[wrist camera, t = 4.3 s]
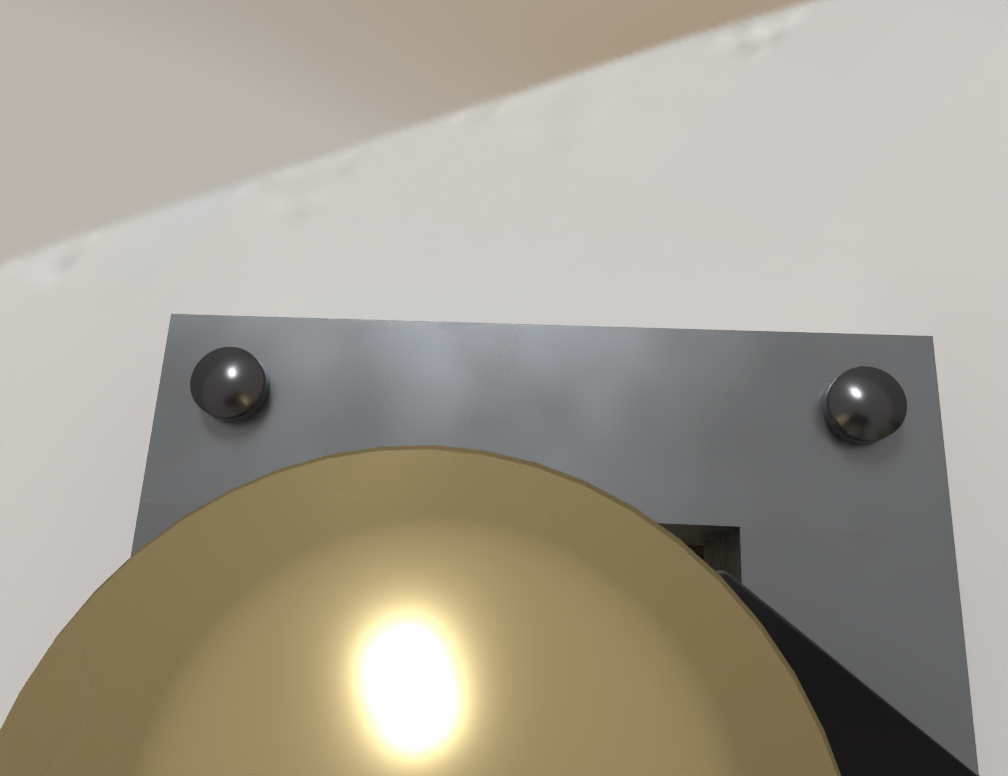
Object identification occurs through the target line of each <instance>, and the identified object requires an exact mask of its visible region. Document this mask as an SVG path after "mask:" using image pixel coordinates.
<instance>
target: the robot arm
mask: <svg viewBox="0 0 1008 776" xmlns="http://www.w3.org/2000/svg"><path fill="white" fill-rule="evenodd" d="M716 572H717V573H718V574H719V575H720V576H721V577H722V578H723V579H724V580H725V581H726V583H727V584H728V585H729V586H730V587H731V588H732V590H733V591H734V592H735V593H736V594H737V595H738V596H739V598H740V599H741V600H742V601H743V602H744V603H745V605H746V606H747V607H748V608H749V609H750V610H751V612H752V613H753V614H754V615H755V616H756V617H757V619H758V620H759V621H760V622H761V623H762V625H763V626H764V628H765V629H766V631H767V632H768V634H769V635H770V637H771V638H772V640H773V641H774V643H775V644H776V646H777V647H778V649H779V650H780V652H781V653H782V655H783V656H784V658H785V659H786V661H787V662H788V664H789V665H790V667H791V668H792V670H793V671H794V673H795V674H796V676H797V678H798V680H799V682H800V684H801V686H802V688H803V690H804V692H805V694H806V696H807V698H808V700H809V701H810V703H811V705H812V707H813V709H814V711H815V713H816V715H817V717H818V719H819V721H820V723H821V725H822V727H823V729H824V731H825V734H826V736H827V739H828V742H829V744H830V747H831V750H832V752H833V755H834V758H835V760H836V763H837V766H838V769H839V771H840V774H841V776H980V775H978V774H977V773H976V772H975V771H973V770H972V769H971V768H970V767H968V766H967V765H966V764H965V763H963V762H962V761H961V760H960V759H959V758H957V757H956V756H955V755H954V754H952V753H951V752H950V751H949V750H947V749H946V748H945V747H944V746H942V745H941V744H940V743H939V742H937V741H936V740H935V739H934V738H933V737H931V736H930V735H929V734H928V733H926V732H925V731H924V730H923V729H921V728H920V727H919V726H918V725H916V724H915V723H914V722H913V721H911V720H910V719H909V718H908V717H907V716H905V715H904V714H903V713H902V712H900V711H899V710H898V709H897V708H895V707H894V706H893V705H892V704H890V703H889V702H888V701H887V700H885V699H884V698H883V697H882V696H881V695H879V694H878V693H877V692H876V691H874V690H873V689H872V688H871V687H869V686H868V685H867V684H866V683H864V682H863V681H862V680H861V679H859V678H858V677H857V676H856V675H855V674H853V673H852V672H851V671H850V670H848V669H847V668H846V667H845V666H843V665H842V664H841V663H840V662H838V661H837V660H836V659H835V658H833V657H832V656H831V655H830V654H829V653H827V652H826V651H825V650H824V649H822V648H821V647H820V646H819V645H817V644H816V643H815V642H814V641H812V640H811V639H810V638H809V637H807V636H806V635H805V634H804V633H803V632H801V631H800V630H799V629H798V628H796V627H795V626H794V625H793V624H791V623H790V622H789V621H788V620H786V619H785V618H784V617H783V616H781V615H780V614H779V613H778V612H777V611H775V610H774V609H773V608H772V607H770V606H769V605H768V604H767V603H765V602H764V601H763V600H762V599H760V598H759V597H758V596H757V595H755V594H754V593H753V592H752V591H751V590H749V589H748V588H747V587H746V586H744V585H743V584H742V583H741V582H739V581H738V580H737V579H736V578H734V577H733V576H732V575H731V574H729V573H728V572H725V571H721V570H718V571H716Z"/></svg>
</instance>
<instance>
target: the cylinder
mask: <svg viewBox="0 0 1008 776" xmlns="http://www.w3.org/2000/svg"><path fill="white" fill-rule="evenodd" d="M0 776H841V774H840V771H839V769H838V766H837V763H836V760H835V758H834V755H833V752H832V750H831V747H830V744H829V742H828V739H827V736H826V734H825V731H824V729H823V727H822V725H821V723H820V721H819V719H818V717H817V715H816V713H815V711H814V709H813V707H812V705H811V703H810V701H809V700H808V698H807V696H806V694H805V692H804V690H803V688H802V686H801V684H800V682H799V680H798V678H797V676H796V674H795V673H794V671H793V670H792V668H791V667H790V665H789V664H788V662H787V661H786V659H785V658H784V656H783V655H782V653H781V652H780V650H779V649H778V647H777V646H776V644H775V643H774V641H773V640H772V638H771V637H770V635H769V634H768V632H767V631H766V629H765V628H764V626H763V625H762V623H761V622H760V621H759V620H758V619H757V617H756V616H755V615H754V614H753V613H752V612H751V610H750V609H749V608H748V607H747V606H746V605H745V603H744V602H743V601H742V600H741V599H740V598H739V596H738V595H737V594H736V593H735V592H734V591H733V590H732V588H731V587H730V586H729V585H728V584H727V583H726V581H725V580H724V579H723V578H722V577H721V576H720V575H719V574H718V573H717V572H716V571H714V570H713V569H712V568H711V567H710V566H709V565H708V564H707V563H706V562H705V561H703V560H702V559H701V558H700V557H699V556H698V555H697V554H696V553H695V552H694V551H692V550H691V549H690V548H689V547H688V546H687V545H686V544H685V543H684V542H683V541H681V540H680V539H679V538H678V537H676V536H675V535H673V534H672V533H671V532H669V531H668V530H666V529H665V528H663V527H662V526H661V525H659V524H658V523H656V522H655V521H654V520H652V519H651V518H649V517H648V516H646V515H645V514H644V513H642V512H641V511H639V510H638V509H637V508H635V507H634V506H632V505H630V504H628V503H626V502H624V501H622V500H620V499H618V498H617V497H615V496H613V495H611V494H609V493H607V492H605V491H603V490H602V489H600V488H598V487H596V486H594V485H592V484H590V483H588V482H586V481H584V480H581V479H579V478H576V477H573V476H571V475H568V474H565V473H563V472H560V471H557V470H555V469H552V468H549V467H547V466H544V465H541V464H539V463H536V462H532V461H528V460H523V459H519V458H515V457H511V456H506V455H502V454H498V453H494V452H489V451H485V450H475V449H466V448H456V447H446V446H437V445H420V446H382V447H375V448H369V449H362V450H356V451H349V452H343V453H336V454H330V455H326V456H323V457H319V458H316V459H312V460H309V461H305V462H302V463H298V464H295V465H291V466H288V467H285V468H281V469H278V470H276V471H273V472H271V473H269V474H266V475H264V476H262V477H259V478H257V479H255V480H252V481H250V482H248V483H245V484H243V485H241V486H238V487H236V488H233V489H231V490H229V491H227V492H226V493H224V494H222V495H220V496H219V497H217V498H215V499H213V500H212V501H210V502H208V503H207V504H205V505H203V506H201V507H200V508H198V509H196V510H194V511H193V512H191V513H189V514H187V515H186V516H184V517H182V518H181V519H180V520H178V521H177V522H176V523H174V524H173V525H172V526H170V527H169V528H168V529H166V530H165V531H164V532H162V533H161V534H160V535H158V536H157V537H156V538H154V539H153V540H152V541H150V542H149V543H148V544H146V545H145V546H144V547H142V548H141V549H140V550H138V551H137V552H136V553H135V554H134V555H133V556H132V557H131V558H130V559H128V560H127V561H126V562H125V563H124V564H123V565H122V566H121V567H120V568H119V569H118V570H117V571H116V572H115V573H114V574H113V575H112V576H111V577H109V578H108V579H107V580H106V581H105V582H104V583H103V584H102V585H101V586H100V587H99V588H98V589H97V590H96V591H95V592H94V593H93V594H92V595H91V597H90V598H89V599H88V600H87V601H86V603H85V604H84V605H83V606H82V607H81V608H80V610H79V611H78V612H77V613H76V614H75V616H74V617H73V618H72V619H71V620H70V622H69V623H68V624H67V625H66V626H65V628H64V629H63V630H62V631H61V632H60V633H59V635H58V636H57V637H56V639H55V640H54V642H53V643H52V645H51V646H50V648H49V649H48V651H47V652H46V654H45V655H44V657H43V658H42V660H41V661H40V663H39V664H38V666H37V667H36V669H35V670H34V672H33V673H32V675H31V676H30V678H29V679H28V681H27V682H26V684H25V685H24V687H23V688H22V690H21V691H20V693H19V695H18V697H17V699H16V701H15V703H14V705H13V707H12V709H11V710H10V712H9V714H8V716H7V718H6V720H5V722H4V724H3V726H2V728H1V730H0Z"/></svg>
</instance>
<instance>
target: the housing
mask: <svg viewBox="0 0 1008 776" xmlns="http://www.w3.org/2000/svg"><path fill="white" fill-rule="evenodd" d="M420 445H437V446H446V447H456V448H466V449H475V450H485V451H489V452H494V453H498V454H502V455H506V456H511V457H515V458H519V459H523V460H528V461H532V462H536V463H539V464H541V465H544V466H547V467H549V468H552V469H555V470H557V471H560V472H563V473H565V474H568V475H571V476H573V477H576V478H579V479H581V480H584V481H586V482H588V483H590V484H592V485H594V486H596V487H598V488H600V489H602V490H603V491H605V492H607V493H609V494H611V495H613V496H615V497H617V498H618V499H620V500H622V501H624V502H626V503H628V504H630V505H632V506H634V507H635V508H637V509H638V510H639V511H641V512H642V513H644V514H645V515H646V516H648V517H649V518H651V519H652V520H654V521H655V522H656V523H658V524H659V525H661V526H662V527H663V528H665V529H666V530H668V531H669V532H671V533H672V534H673V535H675V536H676V537H678V538H679V539H680V540H681V541H683V542H684V543H685V544H686V545H698V546H703V556H704V561H705V562H706V563H707V564H708V565H709V566H710V567H711V568H712V569H713V570H714V571H718V570H721V571H725V572H728V573H729V574H731V575H732V576H733V577H734V578H736V579H737V580H738V581H739V582H741V583H742V584H743V585H744V586H746V587H747V588H748V589H749V590H751V591H752V592H753V593H754V594H755V595H757V596H758V597H759V598H760V599H762V600H763V601H764V602H765V603H767V604H768V605H769V606H770V607H772V608H773V609H774V610H775V611H777V612H778V613H779V614H780V615H781V616H783V617H784V618H785V619H786V620H788V621H789V622H790V623H791V624H793V625H794V626H795V627H796V628H798V629H799V630H800V631H801V632H803V633H804V634H805V635H806V636H807V637H809V638H810V639H811V640H812V641H814V642H815V643H816V644H817V645H819V646H820V647H821V648H822V649H824V650H825V651H826V652H827V653H829V654H830V655H831V656H832V657H833V658H835V659H836V660H837V661H838V662H840V663H841V664H842V665H843V666H845V667H846V668H847V669H848V670H850V671H851V672H852V673H853V674H855V675H856V676H857V677H858V678H859V679H861V680H862V681H863V682H864V683H866V684H867V685H868V686H869V687H871V688H872V689H873V690H874V691H876V692H877V693H878V694H879V695H881V696H882V697H883V698H884V699H885V700H887V701H888V702H889V703H890V704H892V705H893V706H894V707H895V708H897V709H898V710H899V711H900V712H902V713H903V714H904V715H905V716H907V717H908V718H909V719H910V720H911V721H913V722H914V723H915V724H916V725H918V726H919V727H920V728H921V729H923V730H924V731H925V732H926V733H928V734H929V735H930V736H931V737H933V738H934V739H935V740H936V741H937V742H939V743H940V744H941V745H942V746H944V747H945V748H946V749H947V750H949V751H950V752H951V753H952V754H954V755H955V756H956V757H957V758H959V759H960V760H961V761H962V762H963V763H965V764H966V765H967V766H968V767H970V768H971V769H972V770H973V771H975V772H976V773H977V774H978V775H979V773H978V763H977V754H976V744H975V735H974V725H973V716H972V706H971V697H970V687H969V678H968V668H967V659H966V649H965V640H964V630H963V621H962V611H961V602H960V592H959V583H958V573H957V564H956V554H955V545H954V535H953V526H952V516H951V507H950V497H949V488H948V478H947V469H946V459H945V450H944V440H943V431H942V421H941V412H940V402H939V393H938V383H937V374H936V364H935V355H934V345H933V336H908V335H873V334H839V333H805V332H770V331H736V330H702V329H668V328H633V327H599V326H565V325H530V324H496V323H462V322H428V321H393V320H359V319H325V318H290V317H256V316H222V315H188V314H171V319H170V325H169V331H168V337H167V343H166V349H165V355H164V361H163V367H162V373H161V379H160V385H159V391H158V397H157V403H156V409H155V415H154V421H153V427H152V433H151V439H150V445H149V451H148V457H147V463H146V469H145V475H144V481H143V487H142V493H141V499H140V505H139V511H138V516H137V522H136V528H135V534H134V540H133V546H132V552H131V557H132V556H133V555H134V554H135V553H136V552H137V551H138V550H140V549H141V548H142V547H144V546H145V545H146V544H148V543H149V542H150V541H152V540H153V539H154V538H156V537H157V536H158V535H160V534H161V533H162V532H164V531H165V530H166V529H168V528H169V527H170V526H172V525H173V524H174V523H176V522H177V521H178V520H180V519H181V518H182V517H184V516H186V515H187V514H189V513H191V512H193V511H194V510H196V509H198V508H200V507H201V506H203V505H205V504H207V503H208V502H210V501H212V500H213V499H215V498H217V497H219V496H220V495H222V494H224V493H226V492H227V491H229V490H231V489H233V488H236V487H238V486H241V485H243V484H245V483H248V482H250V481H252V480H255V479H257V478H259V477H262V476H264V475H266V474H269V473H271V472H273V471H276V470H278V469H281V468H285V467H288V466H291V465H295V464H298V463H302V462H305V461H309V460H312V459H316V458H319V457H323V456H326V455H330V454H336V453H343V452H349V451H356V450H362V449H369V448H375V447H382V446H420Z"/></svg>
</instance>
